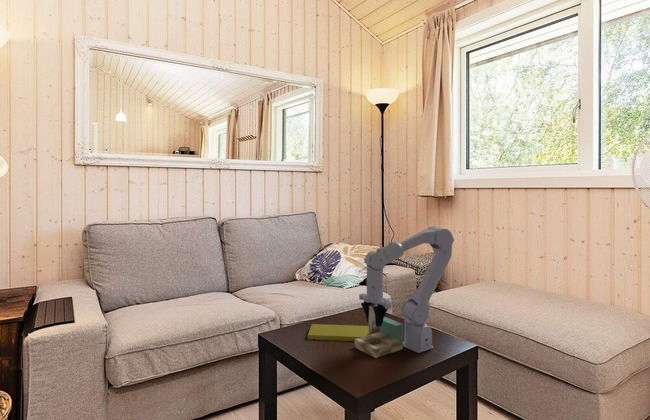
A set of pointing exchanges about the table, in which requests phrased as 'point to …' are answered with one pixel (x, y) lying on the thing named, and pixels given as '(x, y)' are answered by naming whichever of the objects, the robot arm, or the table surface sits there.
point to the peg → (373, 320)
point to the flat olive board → (337, 332)
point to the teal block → (392, 328)
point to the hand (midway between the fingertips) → (374, 324)
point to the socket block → (378, 344)
